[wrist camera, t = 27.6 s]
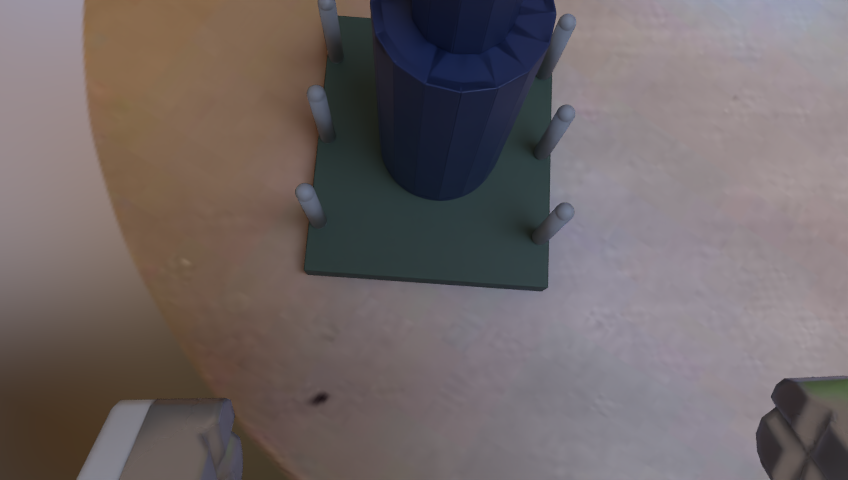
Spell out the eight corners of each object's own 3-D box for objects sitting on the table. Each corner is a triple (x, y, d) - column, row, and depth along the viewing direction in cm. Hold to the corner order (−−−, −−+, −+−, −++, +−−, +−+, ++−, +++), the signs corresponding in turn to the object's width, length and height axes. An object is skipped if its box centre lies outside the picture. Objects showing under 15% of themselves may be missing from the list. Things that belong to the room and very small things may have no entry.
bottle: (519, 165, 32) (638, -46, 16) (419, 222, 31) (442, 58, 15) (457, 72, 33) (513, -210, 17) (359, 125, 32) (323, -122, 16)
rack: (542, 291, 31) (578, 269, 25) (306, 274, 31) (284, 247, 25) (547, 44, 35) (580, -30, 28) (334, 27, 34) (320, -52, 28)
